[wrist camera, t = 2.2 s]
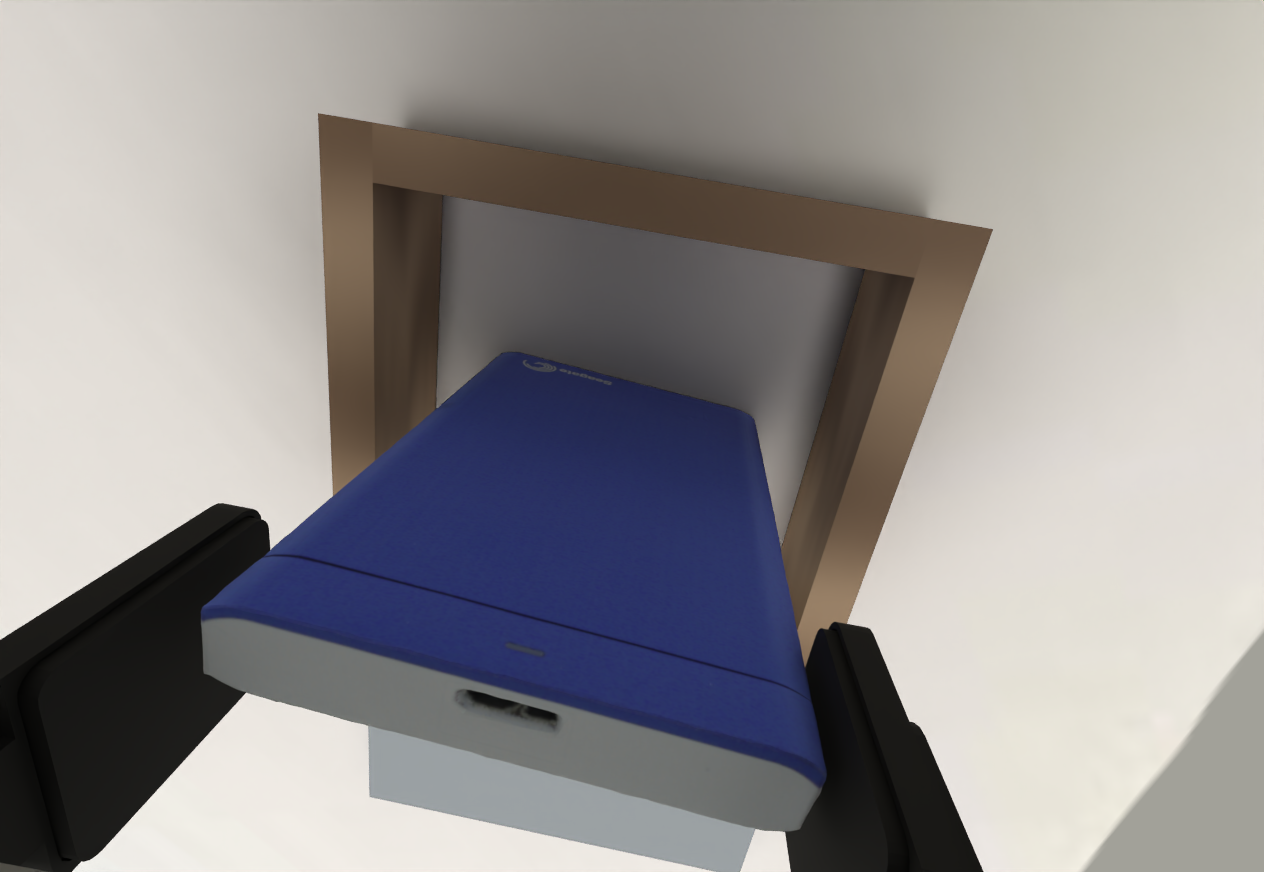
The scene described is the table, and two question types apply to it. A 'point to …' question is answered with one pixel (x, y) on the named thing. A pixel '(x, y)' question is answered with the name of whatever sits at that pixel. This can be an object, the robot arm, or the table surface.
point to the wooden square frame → (663, 203)
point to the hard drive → (550, 597)
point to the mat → (547, 803)
